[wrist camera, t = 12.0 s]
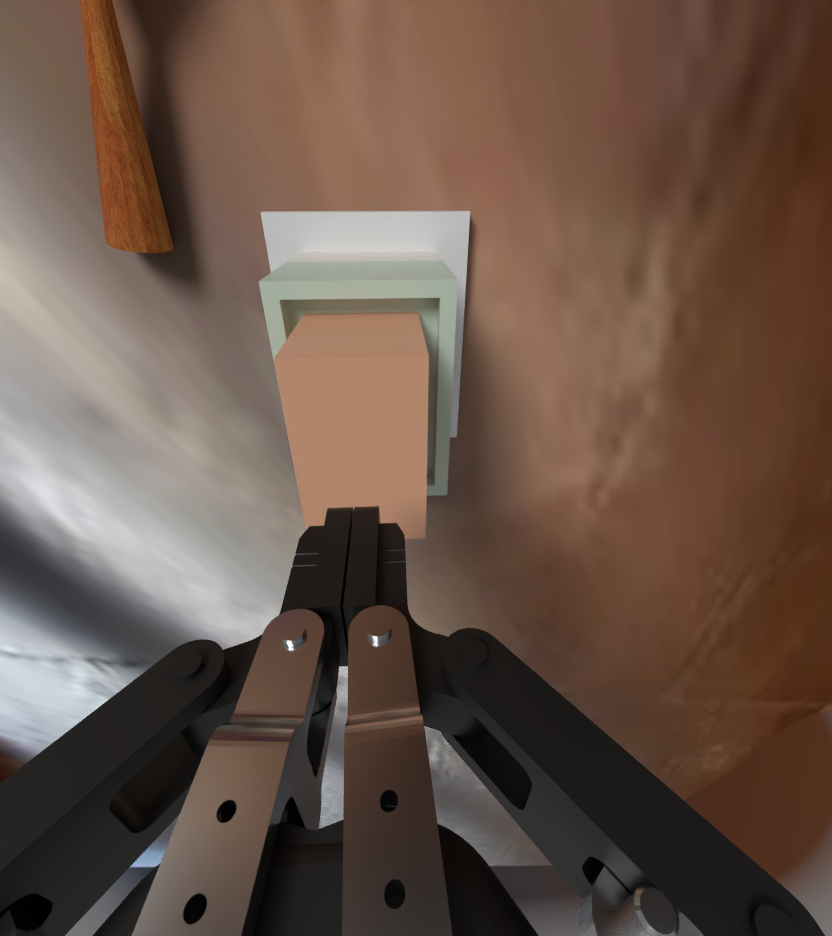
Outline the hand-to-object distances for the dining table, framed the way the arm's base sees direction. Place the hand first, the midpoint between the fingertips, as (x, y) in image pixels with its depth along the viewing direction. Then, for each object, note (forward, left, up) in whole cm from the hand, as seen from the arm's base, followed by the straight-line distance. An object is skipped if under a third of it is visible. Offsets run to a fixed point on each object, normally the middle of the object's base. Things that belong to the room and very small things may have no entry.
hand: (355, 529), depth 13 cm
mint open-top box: (0, 0, -20) cm, 20 cm away
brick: (0, 0, -10) cm, 10 cm away
